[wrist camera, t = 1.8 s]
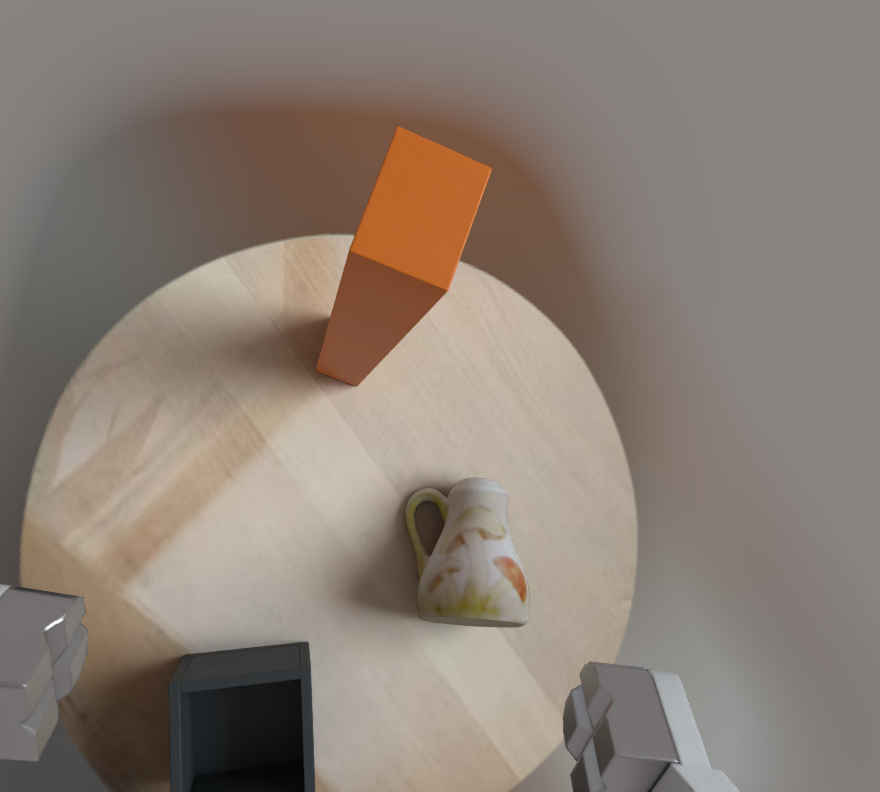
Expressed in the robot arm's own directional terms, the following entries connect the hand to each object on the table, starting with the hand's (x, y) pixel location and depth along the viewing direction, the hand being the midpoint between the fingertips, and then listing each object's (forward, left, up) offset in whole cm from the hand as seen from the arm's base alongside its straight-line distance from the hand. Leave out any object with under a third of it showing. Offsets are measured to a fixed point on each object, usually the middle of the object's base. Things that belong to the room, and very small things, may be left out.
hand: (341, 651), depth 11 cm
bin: (0, -13, -35) cm, 38 cm away
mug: (+11, 0, -35) cm, 37 cm away
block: (0, +11, -35) cm, 37 cm away
